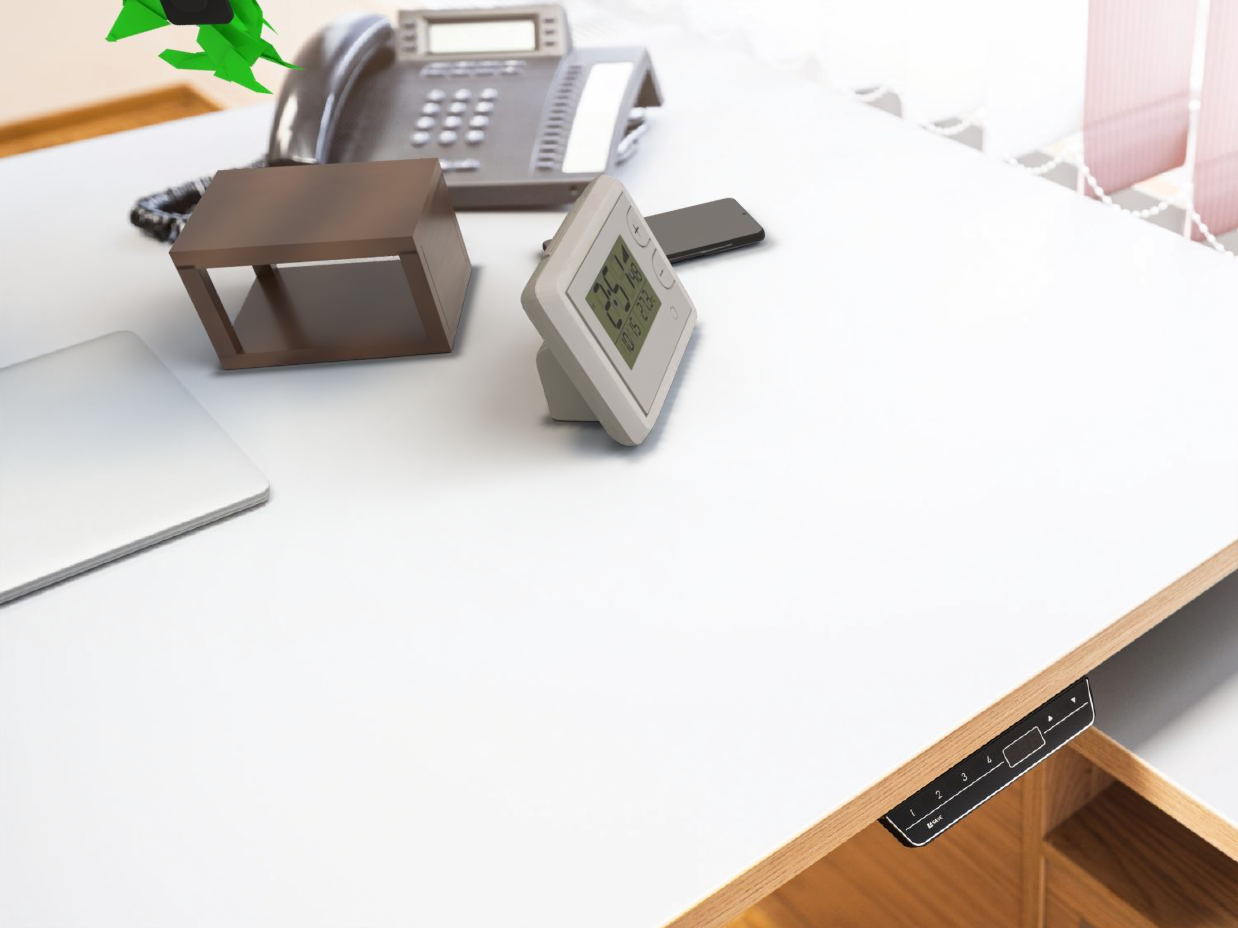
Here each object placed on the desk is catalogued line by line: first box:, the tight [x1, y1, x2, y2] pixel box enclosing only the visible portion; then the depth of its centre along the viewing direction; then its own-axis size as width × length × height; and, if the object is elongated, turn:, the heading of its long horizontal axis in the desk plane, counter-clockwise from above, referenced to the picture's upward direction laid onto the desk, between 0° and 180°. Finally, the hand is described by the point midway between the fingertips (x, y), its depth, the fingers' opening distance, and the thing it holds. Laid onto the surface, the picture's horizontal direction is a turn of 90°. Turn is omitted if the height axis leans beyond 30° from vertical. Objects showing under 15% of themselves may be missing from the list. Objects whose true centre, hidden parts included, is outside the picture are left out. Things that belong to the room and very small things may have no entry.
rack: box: [168, 157, 473, 370], centre depth 88 cm, size 14×12×8 cm
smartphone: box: [542, 197, 766, 264], centre depth 98 cm, size 7×1×15 cm
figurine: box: [104, 0, 306, 95], centre depth 72 cm, size 6×12×9 cm, turn 74°
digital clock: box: [520, 173, 698, 447], centre depth 81 cm, size 16×9×11 cm, turn 168°
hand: (215, 2), depth 73 cm, fingers closed on figurine, 4 cm apart
